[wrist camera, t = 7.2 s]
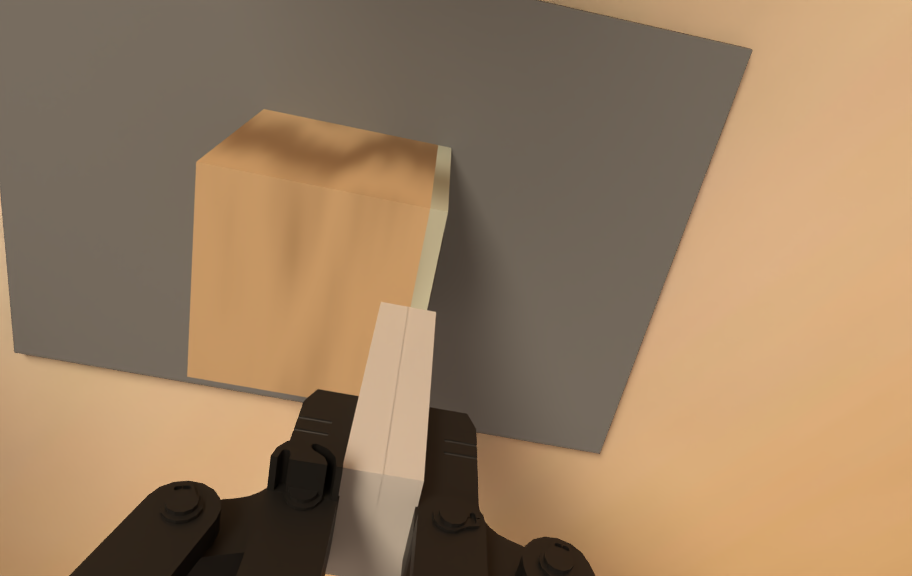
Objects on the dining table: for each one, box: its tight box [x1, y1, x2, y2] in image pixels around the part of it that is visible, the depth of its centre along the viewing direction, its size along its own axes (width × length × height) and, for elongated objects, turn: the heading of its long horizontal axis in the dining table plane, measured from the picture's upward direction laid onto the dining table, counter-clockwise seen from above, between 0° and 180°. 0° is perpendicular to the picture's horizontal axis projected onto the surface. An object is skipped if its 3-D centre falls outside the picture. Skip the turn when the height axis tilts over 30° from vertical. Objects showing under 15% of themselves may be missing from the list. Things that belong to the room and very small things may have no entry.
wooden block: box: [187, 109, 451, 398], centre depth 23 cm, size 7×7×7 cm
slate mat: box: [0, 0, 752, 454], centre depth 27 cm, size 26×18×1 cm
